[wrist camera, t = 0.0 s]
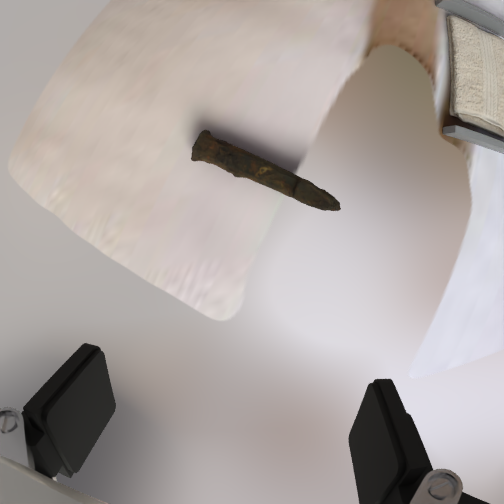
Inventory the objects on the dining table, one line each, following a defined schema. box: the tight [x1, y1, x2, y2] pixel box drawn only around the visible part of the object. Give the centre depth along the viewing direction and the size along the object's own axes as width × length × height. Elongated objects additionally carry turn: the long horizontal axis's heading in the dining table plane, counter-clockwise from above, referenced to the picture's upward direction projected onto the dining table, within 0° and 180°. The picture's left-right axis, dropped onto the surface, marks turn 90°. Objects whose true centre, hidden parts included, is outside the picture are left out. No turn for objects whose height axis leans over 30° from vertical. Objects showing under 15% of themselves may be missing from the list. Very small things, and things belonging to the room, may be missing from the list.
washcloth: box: [446, 15, 504, 138], centre depth 30 cm, size 12×18×3 cm, turn 175°
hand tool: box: [191, 130, 341, 211], centre depth 36 cm, size 19×4×5 cm, turn 64°
